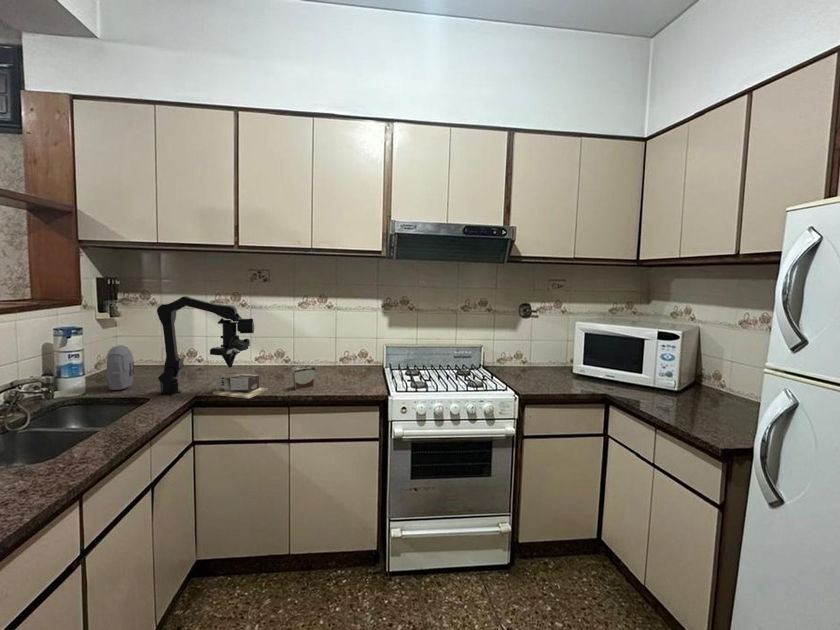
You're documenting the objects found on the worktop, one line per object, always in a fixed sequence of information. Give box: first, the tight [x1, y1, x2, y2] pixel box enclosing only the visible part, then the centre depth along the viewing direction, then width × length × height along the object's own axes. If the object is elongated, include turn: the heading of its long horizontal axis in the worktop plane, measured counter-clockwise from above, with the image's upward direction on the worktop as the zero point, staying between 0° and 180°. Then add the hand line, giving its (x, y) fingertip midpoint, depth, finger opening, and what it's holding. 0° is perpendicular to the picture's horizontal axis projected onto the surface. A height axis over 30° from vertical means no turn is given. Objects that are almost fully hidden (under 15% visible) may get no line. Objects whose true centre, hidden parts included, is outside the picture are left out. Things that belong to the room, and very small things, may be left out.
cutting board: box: [212, 387, 269, 400], centre depth 191 cm, size 18×14×1 cm
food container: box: [291, 364, 317, 391], centre depth 203 cm, size 12×6×10 cm, turn 134°
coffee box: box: [215, 372, 260, 393], centre depth 192 cm, size 9×6×16 cm
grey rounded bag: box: [105, 344, 135, 391], centre depth 192 cm, size 15×8×20 cm, turn 15°
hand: (230, 367), depth 192 cm, fingers closed
